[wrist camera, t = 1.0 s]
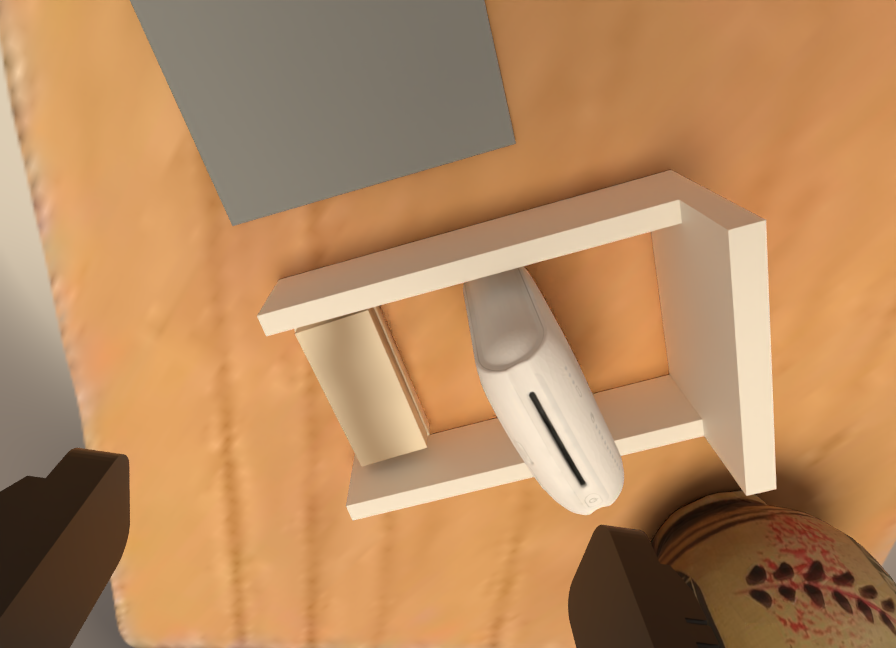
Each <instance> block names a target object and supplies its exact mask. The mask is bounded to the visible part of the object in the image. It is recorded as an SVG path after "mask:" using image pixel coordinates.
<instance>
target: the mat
mask: <svg viewBox="0 0 896 648" xmlns="http://www.w3.org/2000/svg"><path fill="white" fill-rule="evenodd" d="M130 1H131V4H132V6H133V8H134V10H135V12H136V15H137V17H138V19H139V21H140V23H141V26H142V28H143V30H144V32H145V34H146V37H147V39H148V41H149V43H150V45H151V48H152V50H153V52H154V54H155V56H156V59H157V61H158V63H159V65H160V67H161V70H162V72H163V74H164V76H165V78H166V81H167V83H168V85H169V87H170V89H171V92H172V94H173V96H174V98H175V100H176V103H177V105H178V107H179V109H180V111H181V114H182V116H183V118H184V120H185V122H186V125H187V127H188V129H189V131H190V133H191V136H192V138H193V140H194V142H195V144H196V147H197V149H198V151H199V153H200V155H201V158H202V160H203V162H204V164H205V166H206V169H207V171H208V173H209V175H210V177H211V180H212V182H213V184H214V186H215V188H216V191H217V193H218V195H219V197H220V199H221V202H222V204H223V206H224V208H225V210H226V213H227V215H228V217H229V219H230V221H231V224H232V226H234V225H238V224H241V223H245V222H248V221H252V220H255V219H258V218H262V217H265V216H269V215H272V214H276V213H279V212H282V211H286V210H289V209H293V208H296V207H300V206H303V205H307V204H310V203H313V202H317V201H320V200H324V199H327V198H331V197H334V196H338V195H341V194H344V193H348V192H351V191H355V190H358V189H362V188H365V187H368V186H372V185H375V184H379V183H382V182H386V181H389V180H393V179H396V178H399V177H403V176H406V175H410V174H413V173H417V172H420V171H423V170H427V169H430V168H434V167H437V166H441V165H444V164H448V163H451V162H454V161H458V160H461V159H465V158H468V157H472V156H475V155H478V154H482V153H485V152H489V151H492V150H496V149H499V148H503V147H506V146H509V145H513V144H516V142H515V138H514V133H513V129H512V124H511V120H510V115H509V110H508V106H507V101H506V97H505V92H504V88H503V83H502V79H501V74H500V69H499V65H498V60H497V56H496V51H495V47H494V42H493V38H492V33H491V29H490V24H489V19H488V15H487V10H486V6H485V1H484V0H130Z"/></svg>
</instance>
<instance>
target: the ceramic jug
mask: <svg viewBox="0 0 896 648" xmlns="http://www.w3.org/2000/svg"><path fill="white" fill-rule="evenodd" d="M651 545H652V547H653V549H654V552H655V554H656V556H657V558H658V560H659V563H660V564H665V565H670V566H671V567H672V568H673V569H674V570H675V571H676V572H677V574H678V575H679V576H680V577H681V578H682V579H683V580H684V582H685V583H686V584H687V585H688V586H689V587H690V588H691V590H692V591H693V592H694V594H695V596H696V598H697V600H698V602H699V604H700V606H701V608H702V610H703V612H704V614H705V616H706V619H707V625H708V626H710V627H711V629H712V631H713V633H714V635H715V637H716V639H717V641H718V643H719V648H896V584H895V582H894V581H893V579H892V578H891V577H890V576H889V574H888V573H887V572H886V571H885V570H884V569H883V567H882V566H881V565H880V564H879V563H878V562H877V561H876V560H875V559H874V558H873V557H872V556H871V555H870V554H869V553H868V552H867V551H866V549H865V548H864V547H863V546H861V545H860V544H859V543H857V542H856V541H855V540H854V539H853V538H851V537H849V536H848V535H846V534H844V533H843V532H841V531H839V530H837V529H836V528H834V527H832V526H831V525H829V524H827V523H825V522H824V521H822V520H820V519H818V518H816V517H814V516H812V515H809V514H807V513H805V512H800V511H796V510H792V509H787V508H781V507H775V506H768V505H767V504H766V503H765V502H764V501H763V500H762V499H760V498H759V497H758V496H757V495H755V494H753V495H748V496H746V495H745V493H744V492H743V490H741V491H734V492H724V493H716V494H712V495H708V496H706V497H704V498H701V499H699V500H697V501H695V502H693V503H691V504H689V505H686V506H684V507H682V508H680V509H678V510H677V511H675V512H674V513H673V514H671V515H670V517H669V518H668V519H667V520H666V522H665V523H664V524H663V525H662V526H661V528H660V529H659V530H658V531H657V533H656V535H655V537H654V539H653V540H652V541H651Z"/></svg>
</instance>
